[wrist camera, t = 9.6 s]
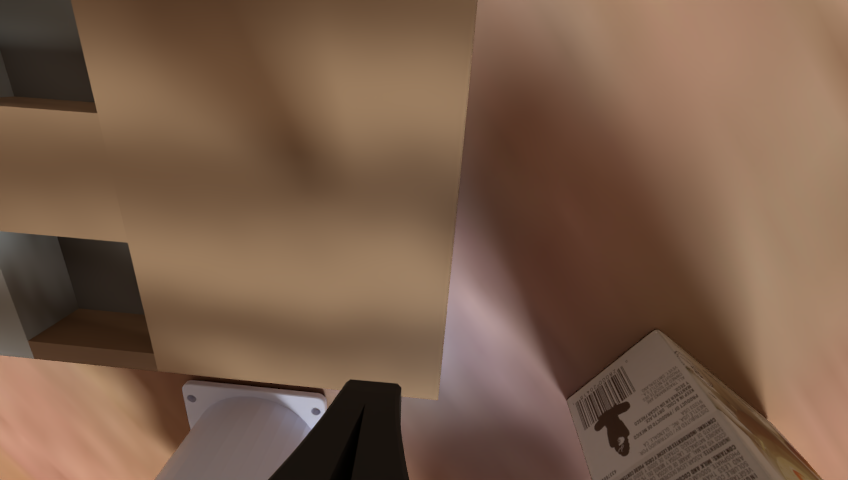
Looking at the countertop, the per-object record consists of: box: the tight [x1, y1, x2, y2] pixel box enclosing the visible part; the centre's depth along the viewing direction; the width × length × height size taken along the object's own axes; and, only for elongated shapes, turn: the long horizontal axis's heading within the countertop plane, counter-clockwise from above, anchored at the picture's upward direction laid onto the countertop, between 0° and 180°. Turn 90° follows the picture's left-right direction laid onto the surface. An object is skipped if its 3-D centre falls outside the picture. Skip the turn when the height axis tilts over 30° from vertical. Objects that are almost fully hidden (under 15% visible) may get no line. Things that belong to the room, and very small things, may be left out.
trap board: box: [0, 0, 478, 400], centre depth 17 cm, size 18×30×3 cm, turn 86°
